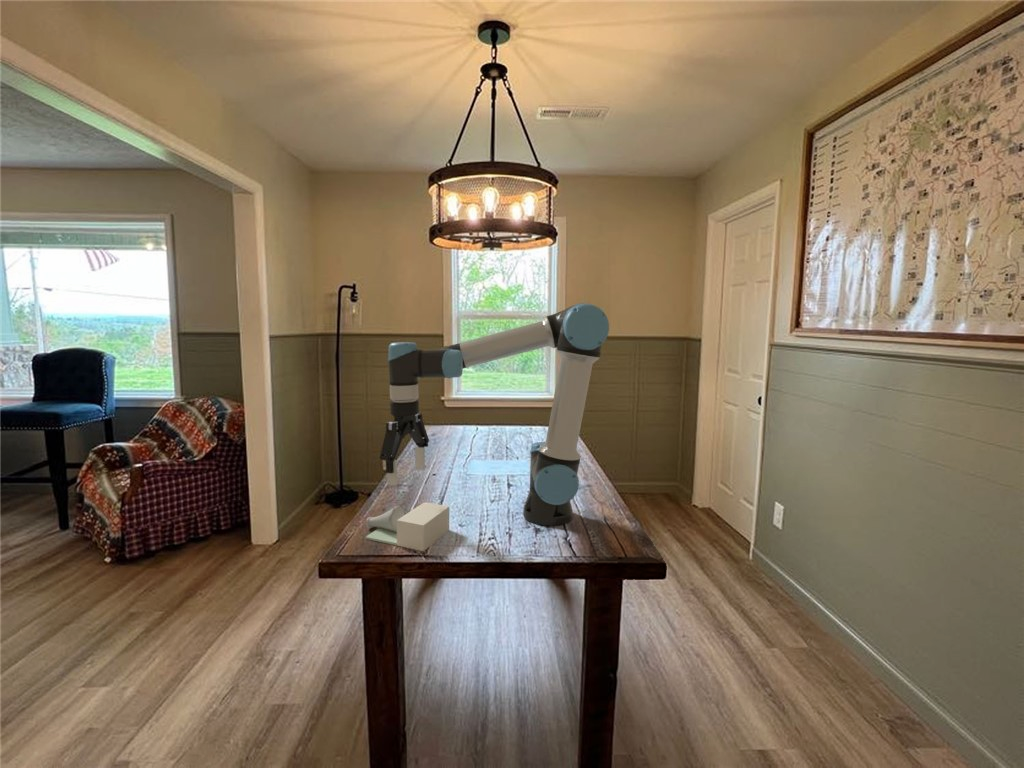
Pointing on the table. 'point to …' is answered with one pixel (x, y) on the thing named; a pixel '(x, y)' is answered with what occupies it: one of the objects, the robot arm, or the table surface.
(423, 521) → the block
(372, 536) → the mat
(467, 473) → the table surface
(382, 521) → the flask
